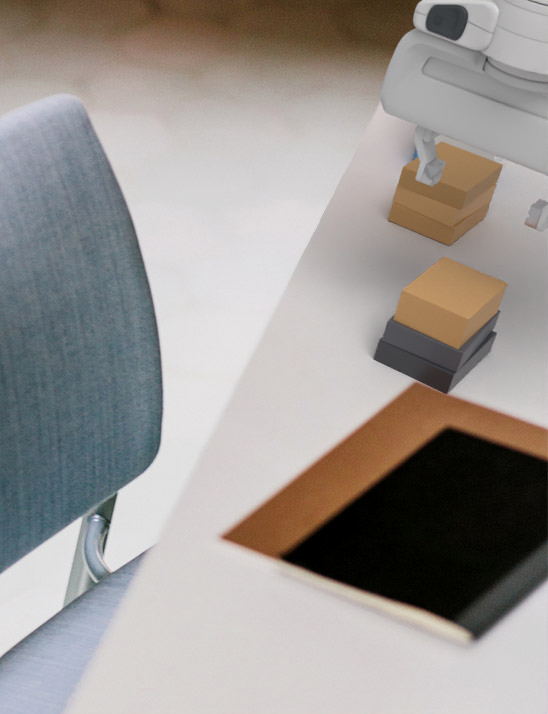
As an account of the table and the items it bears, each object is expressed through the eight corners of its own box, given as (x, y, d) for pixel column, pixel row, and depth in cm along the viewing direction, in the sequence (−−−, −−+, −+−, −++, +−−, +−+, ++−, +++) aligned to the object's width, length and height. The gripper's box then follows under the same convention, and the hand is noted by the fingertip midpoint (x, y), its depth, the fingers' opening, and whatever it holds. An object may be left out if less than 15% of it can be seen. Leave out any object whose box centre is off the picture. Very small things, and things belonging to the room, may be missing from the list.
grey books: (491, 350, 105) (505, 312, 102) (447, 394, 99) (461, 355, 97) (417, 317, 108) (430, 279, 106) (370, 357, 102) (382, 318, 100)
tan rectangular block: (497, 313, 102) (508, 283, 100) (458, 349, 97) (468, 319, 95) (434, 285, 105) (443, 255, 103) (392, 320, 100) (402, 289, 98)
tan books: (486, 217, 125) (504, 164, 121) (449, 247, 119) (467, 192, 115) (424, 192, 128) (440, 140, 124) (385, 220, 122) (400, 166, 118)
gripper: (697, 67, 83) (620, 241, 92) (434, -19, 92) (386, 147, 100) (670, 89, 79) (592, 269, 88) (397, -3, 88) (350, 169, 96)
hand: (480, 203), depth 94 cm, fingers open, 8 cm apart
